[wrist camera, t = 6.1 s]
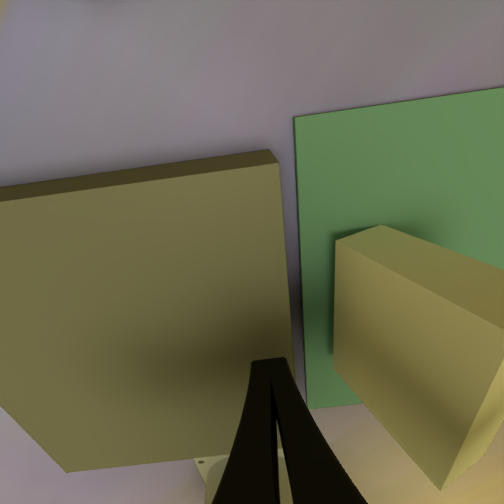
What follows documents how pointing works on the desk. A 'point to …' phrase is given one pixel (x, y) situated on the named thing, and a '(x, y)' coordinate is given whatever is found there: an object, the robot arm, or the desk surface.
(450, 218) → the mat
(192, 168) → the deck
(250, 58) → the desk surface
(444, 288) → the tile
